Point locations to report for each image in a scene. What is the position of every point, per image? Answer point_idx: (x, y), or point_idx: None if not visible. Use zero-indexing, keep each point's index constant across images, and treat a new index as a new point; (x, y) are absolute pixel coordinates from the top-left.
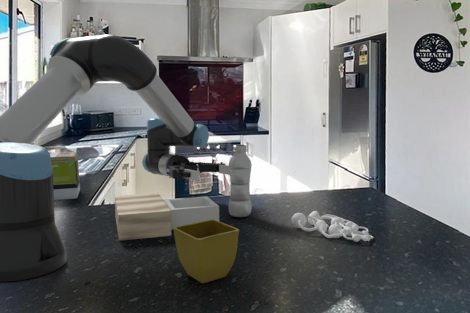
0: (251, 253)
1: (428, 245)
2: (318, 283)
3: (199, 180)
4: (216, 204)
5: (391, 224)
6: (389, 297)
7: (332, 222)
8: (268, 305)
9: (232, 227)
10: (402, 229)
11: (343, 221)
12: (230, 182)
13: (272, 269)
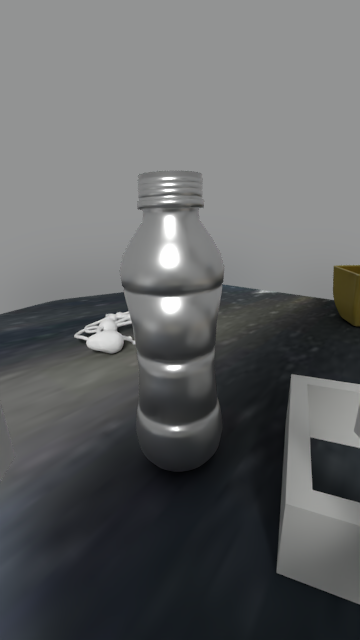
0: (287, 332)
1: (108, 301)
2: (261, 300)
3: (357, 429)
4: (292, 386)
5: (42, 323)
6: (232, 289)
7: (115, 327)
8: (317, 298)
9: (339, 267)
10: (62, 316)
11: (96, 326)
12: (212, 346)
13: (284, 314)
